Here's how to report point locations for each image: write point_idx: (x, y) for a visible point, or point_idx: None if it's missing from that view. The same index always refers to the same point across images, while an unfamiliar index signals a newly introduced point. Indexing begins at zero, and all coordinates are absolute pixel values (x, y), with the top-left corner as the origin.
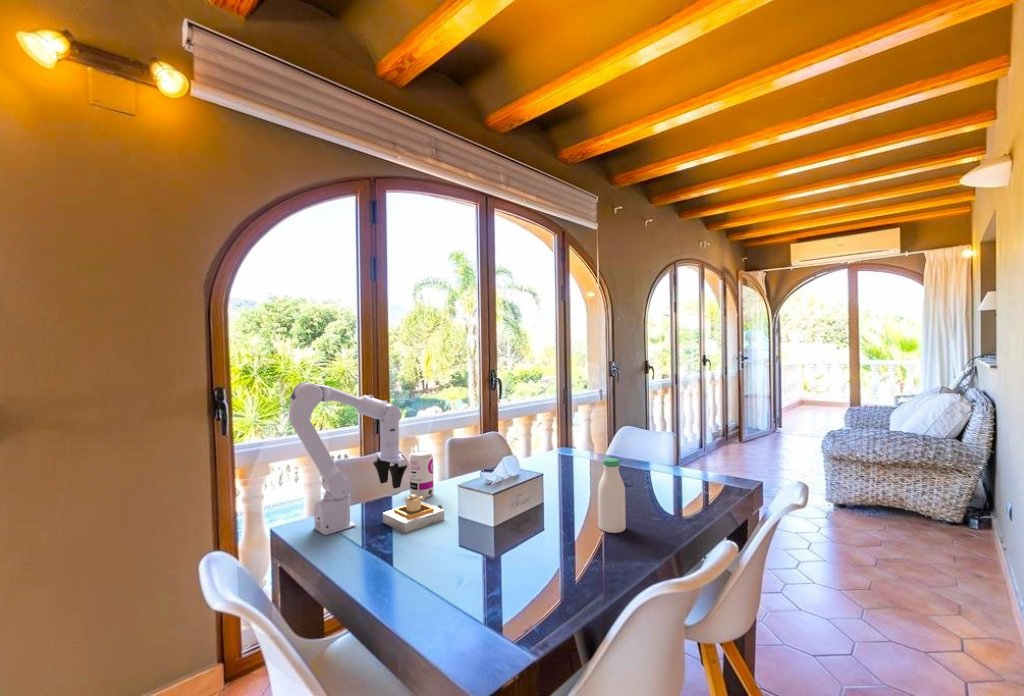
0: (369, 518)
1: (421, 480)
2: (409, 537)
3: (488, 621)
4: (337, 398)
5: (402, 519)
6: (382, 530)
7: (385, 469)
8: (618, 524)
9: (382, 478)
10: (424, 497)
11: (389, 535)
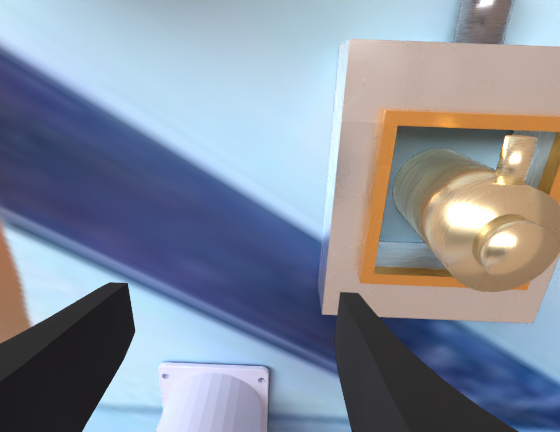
0: (223, 293)
1: None
2: (548, 301)
3: None
4: None
5: (488, 306)
6: (390, 326)
7: (39, 406)
8: None
9: (110, 356)
10: (536, 140)
11: (456, 335)
